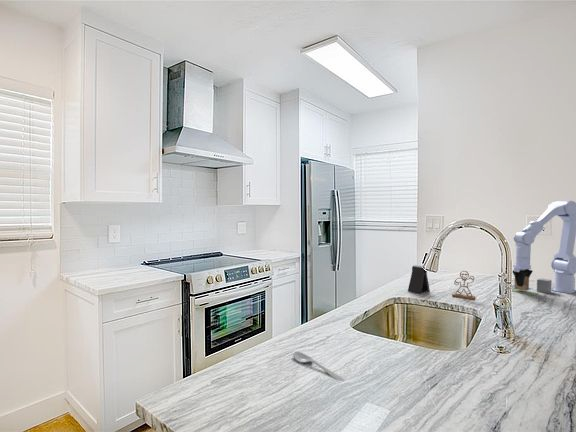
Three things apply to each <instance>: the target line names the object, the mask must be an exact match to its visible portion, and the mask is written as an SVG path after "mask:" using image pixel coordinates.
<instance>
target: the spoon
mask: <svg viewBox="0 0 576 432" xmlns="http://www.w3.org/2000/svg"><path fill="white" fill-rule="evenodd" d="M293 358H294V359H295V361H297V362H298V363H301V364H304V363H313V364H315V365H316V366H318V367H319V368H321V369H322V370H323V371H324V372H326V374H328V375H329V376H330V377H331V378H333V379H334V380H336V381H338V382H339V381H340V382H344V381H345V378H343V377H342V376H340V375H339V374H337V373H335V372H334V371H332V370H330V369H329V368H327V367H325V366H324V365H323V364H320V363H319V362H318V361H316V360H315V359H314V358H313V357H311V356H309V355H307V354H305V353H302V352H300V351H294V352H293ZM302 360H304V361H302Z"/></svg>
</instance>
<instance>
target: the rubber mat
mask: <svg viewBox="0 0 576 432" xmlns="http://www.w3.org/2000/svg"><path fill="white" fill-rule="evenodd" d="M511 292H514V293H519V294H524V295H529V296H536V295H539V293H540V292H535V291H530V290H528V291H524V290H518V289H513V288H512V291H511Z"/></svg>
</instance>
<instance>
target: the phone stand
mask: <svg viewBox="0 0 576 432" xmlns="http://www.w3.org/2000/svg"><path fill="white" fill-rule="evenodd" d="M422 267H423V266H421V265H412V268H411V274H410V280H409V284H408V287H407V288H408V289H407V292H409V293H414V294H418V295H421V294H425V293H428V292H431V289H430V285H429V284H430V283H429V279H428V272H427V271H428V270H427V271H425V270H424V269H423V268H422ZM424 292H425V293H424Z"/></svg>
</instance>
